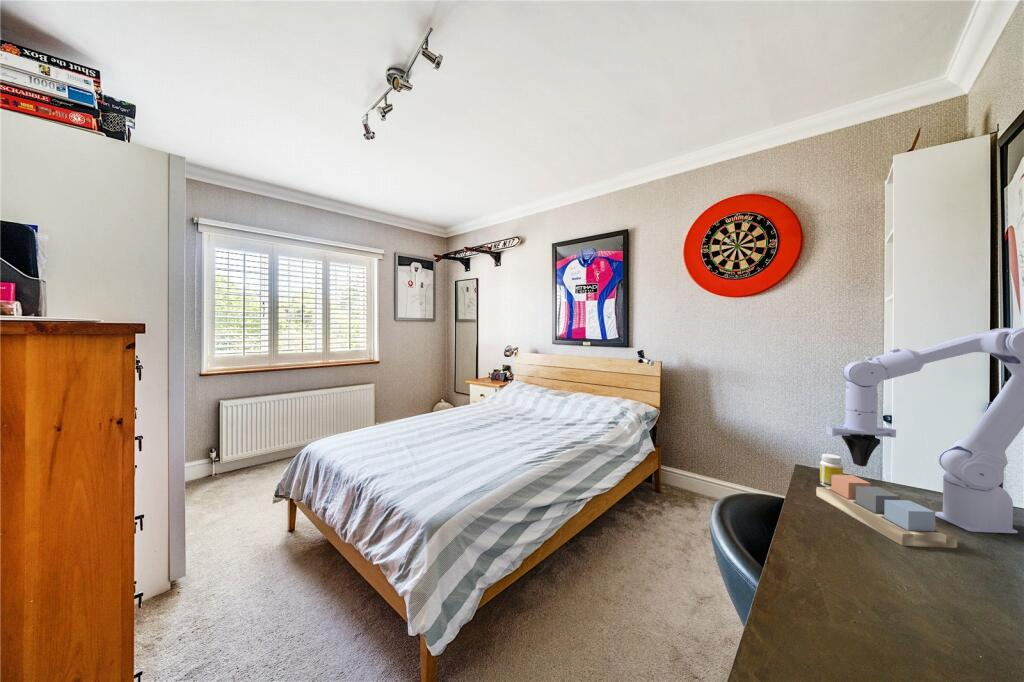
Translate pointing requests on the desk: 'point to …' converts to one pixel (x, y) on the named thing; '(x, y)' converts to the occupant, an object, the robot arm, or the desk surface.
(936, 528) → the board
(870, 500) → the grey block
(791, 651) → the desk surface
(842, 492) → the button terracotta
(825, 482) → the supplement bottle
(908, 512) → the light blue block
